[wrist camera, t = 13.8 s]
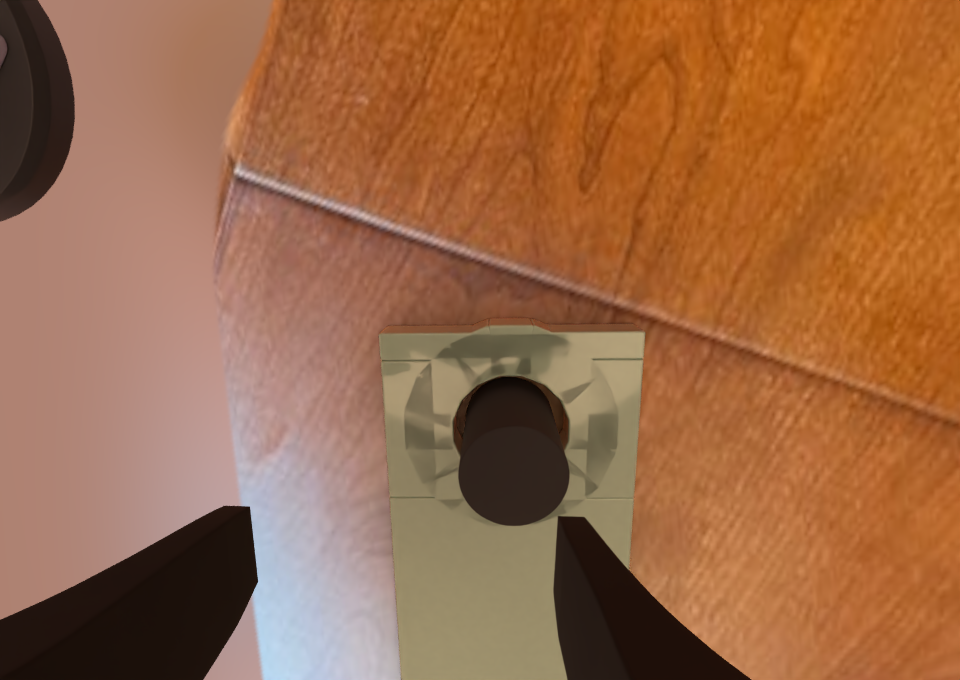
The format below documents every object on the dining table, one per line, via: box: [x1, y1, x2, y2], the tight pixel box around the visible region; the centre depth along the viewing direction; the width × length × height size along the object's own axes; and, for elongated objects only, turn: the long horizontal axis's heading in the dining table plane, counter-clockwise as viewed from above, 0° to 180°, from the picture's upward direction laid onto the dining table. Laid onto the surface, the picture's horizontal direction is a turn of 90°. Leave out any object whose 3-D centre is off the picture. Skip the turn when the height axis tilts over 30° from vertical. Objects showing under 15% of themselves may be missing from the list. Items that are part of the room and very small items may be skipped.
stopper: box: [458, 377, 570, 526], centre depth 18 cm, size 4×4×5 cm
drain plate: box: [379, 318, 645, 680], centre depth 21 cm, size 20×10×2 cm, turn 1°
